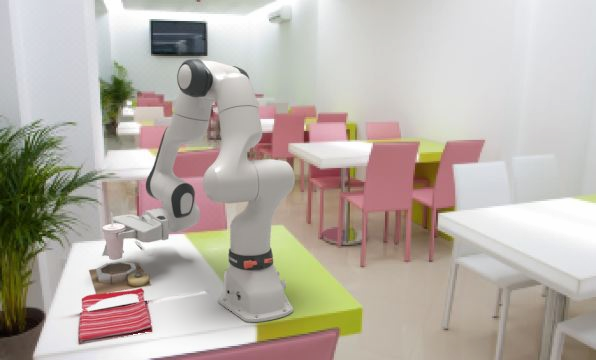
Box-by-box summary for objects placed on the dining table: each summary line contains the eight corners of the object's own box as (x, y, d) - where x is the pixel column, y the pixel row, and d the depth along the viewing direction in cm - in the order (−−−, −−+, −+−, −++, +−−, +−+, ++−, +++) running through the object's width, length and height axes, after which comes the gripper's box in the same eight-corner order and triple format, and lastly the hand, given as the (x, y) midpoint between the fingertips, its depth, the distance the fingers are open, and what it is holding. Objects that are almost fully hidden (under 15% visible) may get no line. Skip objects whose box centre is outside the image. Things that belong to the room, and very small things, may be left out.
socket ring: (138, 279, 151) (138, 272, 151) (99, 286, 146) (99, 278, 146) (132, 267, 161) (132, 259, 160) (95, 273, 156) (94, 265, 155)
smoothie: (99, 259, 151) (96, 214, 148) (114, 252, 156) (112, 208, 153) (116, 262, 148) (114, 216, 145) (131, 255, 154) (129, 211, 151)
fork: (138, 239, 193) (138, 234, 192) (154, 259, 172) (154, 254, 172) (130, 240, 191) (129, 235, 191) (144, 261, 171) (144, 256, 170)
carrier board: (151, 289, 148) (151, 276, 147) (96, 298, 141) (95, 285, 140) (138, 266, 165) (138, 254, 164) (89, 273, 158) (88, 261, 157)
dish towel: (145, 295, 145) (145, 286, 145) (154, 334, 124) (153, 324, 123) (80, 303, 139) (79, 294, 138) (77, 346, 117) (77, 336, 117)
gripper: (135, 207, 166) (94, 215, 156) (170, 220, 153) (128, 230, 143) (135, 225, 168) (95, 235, 158) (171, 240, 154) (129, 251, 144)
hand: (111, 233), depth 150 cm, fingers closed on smoothie, 6 cm apart
